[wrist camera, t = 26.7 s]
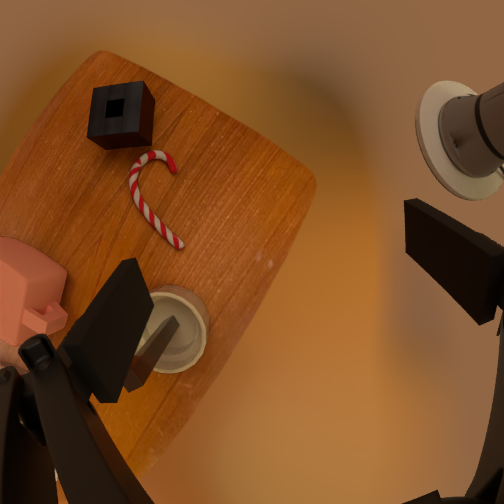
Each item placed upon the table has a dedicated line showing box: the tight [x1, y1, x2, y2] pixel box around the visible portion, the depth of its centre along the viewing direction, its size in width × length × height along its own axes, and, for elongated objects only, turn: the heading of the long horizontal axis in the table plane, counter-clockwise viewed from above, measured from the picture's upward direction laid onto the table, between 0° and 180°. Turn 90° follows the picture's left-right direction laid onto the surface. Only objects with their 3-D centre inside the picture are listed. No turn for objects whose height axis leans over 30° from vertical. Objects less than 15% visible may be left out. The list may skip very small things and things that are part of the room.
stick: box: [123, 315, 180, 392], centre depth 35 cm, size 2×2×20 cm
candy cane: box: [129, 151, 185, 250], centre depth 44 cm, size 8×1×15 cm
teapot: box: [0, 237, 68, 346], centre depth 37 cm, size 22×13×14 cm, turn 66°
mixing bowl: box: [134, 285, 210, 374], centre depth 42 cm, size 11×11×6 cm
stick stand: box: [87, 81, 155, 150], centre depth 40 cm, size 8×8×7 cm
